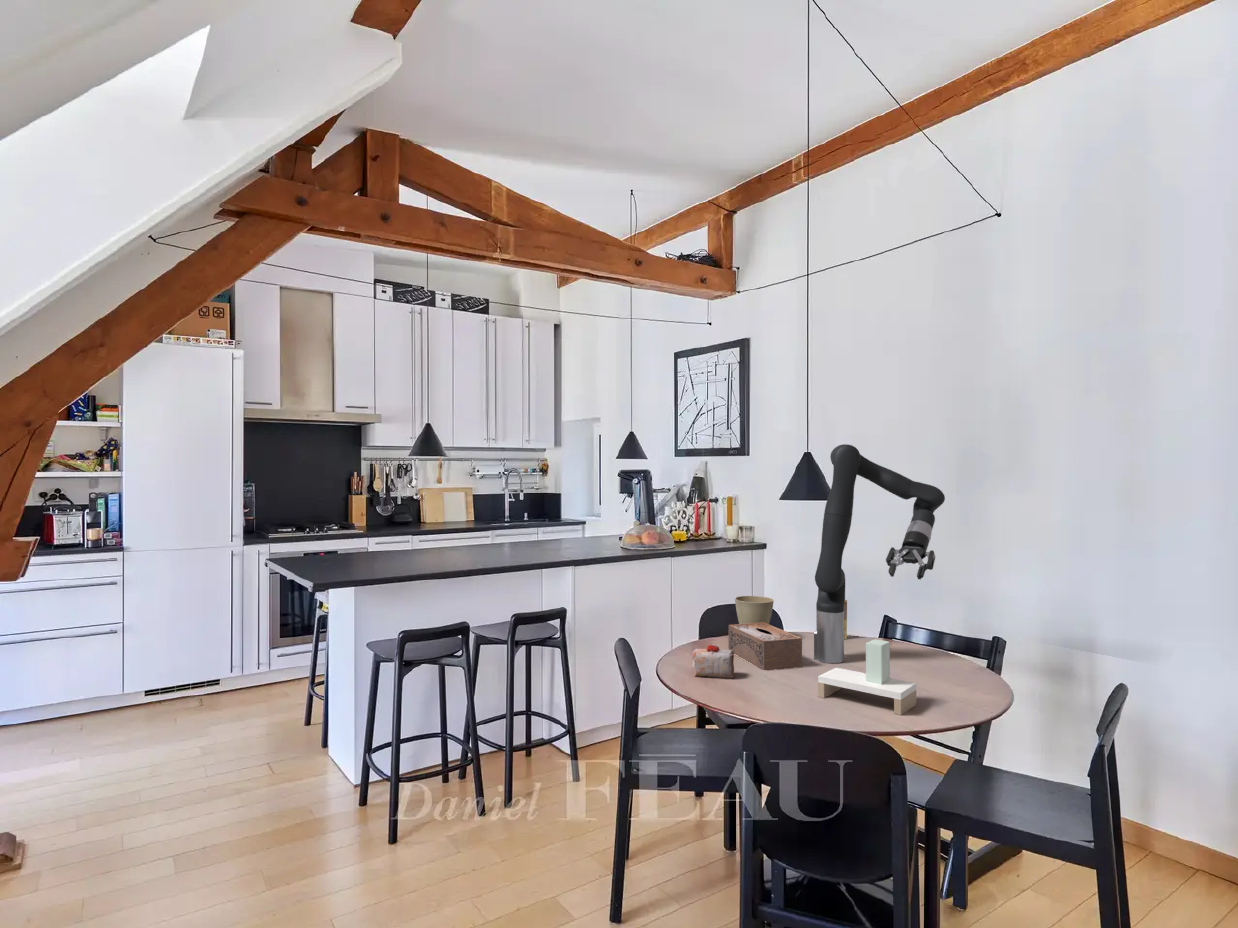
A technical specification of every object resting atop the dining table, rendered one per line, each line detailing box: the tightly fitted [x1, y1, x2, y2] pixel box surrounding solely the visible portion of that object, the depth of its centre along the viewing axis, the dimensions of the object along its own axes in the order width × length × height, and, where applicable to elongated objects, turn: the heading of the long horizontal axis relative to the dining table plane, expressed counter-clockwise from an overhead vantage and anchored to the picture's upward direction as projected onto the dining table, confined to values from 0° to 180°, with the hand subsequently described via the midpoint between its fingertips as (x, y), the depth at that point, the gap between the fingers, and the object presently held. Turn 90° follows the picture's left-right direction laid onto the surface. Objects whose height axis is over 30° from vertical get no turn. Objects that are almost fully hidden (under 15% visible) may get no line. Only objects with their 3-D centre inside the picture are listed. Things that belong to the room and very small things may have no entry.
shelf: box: [817, 667, 917, 716], centre depth 208 cm, size 24×12×6 cm, turn 49°
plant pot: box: [734, 595, 775, 625], centre depth 281 cm, size 15×15×16 cm
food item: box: [691, 643, 735, 679], centre depth 233 cm, size 14×8×10 cm, turn 77°
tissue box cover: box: [728, 622, 803, 671], centre depth 253 cm, size 26×14×10 cm, turn 18°
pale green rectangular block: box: [865, 639, 891, 685], centre depth 207 cm, size 4×6×11 cm
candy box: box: [844, 599, 848, 640], centre depth 282 cm, size 9×4×15 cm, turn 116°
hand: (904, 576), depth 228 cm, fingers open, 8 cm apart
